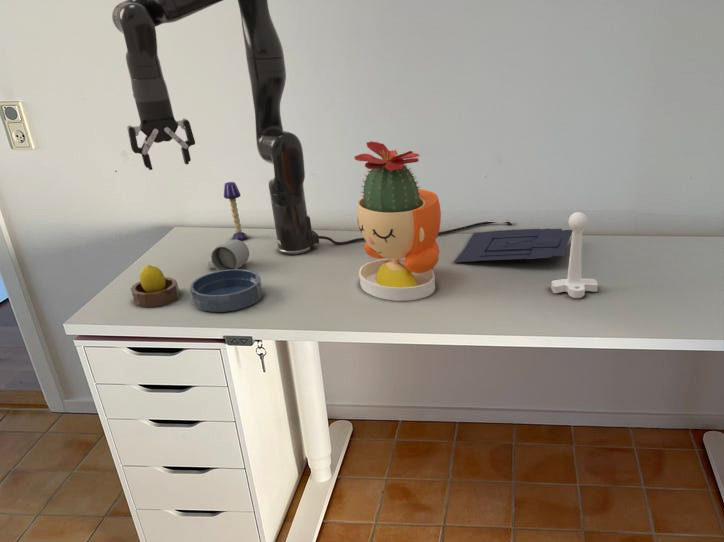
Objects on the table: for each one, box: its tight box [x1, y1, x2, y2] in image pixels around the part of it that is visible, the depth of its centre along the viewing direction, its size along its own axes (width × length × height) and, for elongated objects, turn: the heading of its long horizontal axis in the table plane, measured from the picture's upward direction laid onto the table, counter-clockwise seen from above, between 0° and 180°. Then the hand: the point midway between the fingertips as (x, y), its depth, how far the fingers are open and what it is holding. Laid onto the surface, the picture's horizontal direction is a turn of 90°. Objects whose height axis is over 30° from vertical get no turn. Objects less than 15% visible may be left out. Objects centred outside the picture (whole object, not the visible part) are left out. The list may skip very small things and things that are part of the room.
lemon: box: [139, 264, 166, 293], centre depth 174 cm, size 6×6×8 cm
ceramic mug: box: [207, 238, 250, 271], centre depth 191 cm, size 11×8×8 cm
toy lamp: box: [223, 181, 248, 241], centre depth 209 cm, size 5×5×17 cm
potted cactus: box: [354, 140, 442, 302], centre depth 174 cm, size 22×22×35 cm
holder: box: [130, 276, 181, 308], centre depth 175 cm, size 10×10×4 cm
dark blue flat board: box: [453, 228, 572, 263], centre depth 200 cm, size 24×30×4 cm
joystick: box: [550, 211, 599, 299], centre depth 171 cm, size 11×8×20 cm
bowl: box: [189, 268, 264, 313], centre depth 174 cm, size 16×16×4 cm
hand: (168, 166), depth 175 cm, fingers open, 8 cm apart
